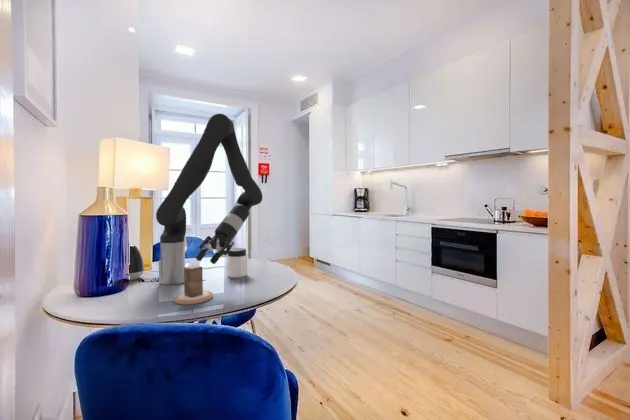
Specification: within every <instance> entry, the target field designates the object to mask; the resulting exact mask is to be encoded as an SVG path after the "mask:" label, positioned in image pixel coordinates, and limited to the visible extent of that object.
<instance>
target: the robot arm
mask: <svg viewBox="0 0 630 420" xmlns="http://www.w3.org/2000/svg"><path fill="white" fill-rule="evenodd" d="M220 144H221V146H222V148H223V149H224V152H225V155H226V158H227V163H228V166H229V169H230V172H231V175H232V177H233V179H234V182H235V184H236V185H237V186H238V187H241V188H242V189H243V190H244V191H243V192H242V193H241V194H240V195H239V196H238V197H237V200H236V201H235V204H234V206H233V208H232V209H231V210H230V211H229V212H228V213H227V214H226V216H225V217H224V218H223V219H222V221H220V223H219V224H218V226H217V227H216V228H215V230H214V236H212V237H211V236H210V235H207V237H206V238H205V239H204V240H203V241H202V243H201V244H200V245H199V246H198V248H199V249H200V251H199V252H198V253H197V255H196V257H195V259H196V260H197V261H198V262H201V261H202V259H203V258H204V257H205V256H206V254H207V253H208V252H211V251H213V250H216V252H214V254H213V255H212V257H211V259H210V261H209V262H210V263H212V264H213V265H215V264H216V263H218V261H219V259H220V258H221V257H222V256H227V255H228V252H229V251H230V249H232V247H233V246H234V244H235V242H234V241H233V240H234V239H235V237H236V236H237V234H238V233H239V231H240V230H241V228H242V227H243V224H244V223H245V222H246V220H247V219H248V218H249V215H250V209H251V208H252V207H255V206H257V205H260V204H261V203H262V201H263V192H262V190H261V188H260V187H259V185H258V184H257V183H256V181H255V180H254V178H253V177H252V175H251V171H250V170H249V167H248V165H247V163H246V160H245V158H244V156H243V153H242V151H241V149H240V145H239V143H238V139H237V136H236V130H235V125H234V121H232V119H230V117H228V116H227V115H225V114H224V113H215V114H213V115H211V117H210V118H209V119H208V121H207V124H206V126H205V129H204V130H203V133H202V135H201V137H200V140H199V141H198V143H197V145H196V146H195V147H194V149H193V151H192V153H191V154H190V156H189V158H188V159H187V161H186V163H185V164H184V165H183V168H182V170H181V171H180V174H179V175H178V177H177V179H176V180H175V182H174V183H173V186H172V188H171V189H170V192H169V193H168V194H167V195H166V197H165V198H164V200H163V201H162V202H161V203H160V205H159V206H158V208H157V210H156V214H155V217H156V221H157V223H158V224H159V225H161V226H163V227H164V229H163V231H162V234H161V235H160V237H159V242H160V244H159V245H160V259H159V260H158V284H161V285H165V286H173V285H179V284H184V267H186V261H185V260H186V257H185V254H186V252H185V248H184V237H185V236H186V233H187V213H186V210H185V208H184V206H185V204H186V202H187V200H189V197H190V196H192V195H193V193H194V192H196V191H197V189H198V188H199V187H201V185H202V184H203V182H204V181H205V179H206V177H207V176H208V174H209V172H210V171H211V168H212V165H213V161H214V158H215V154H216V151H217V150H218V148H219V146H220Z"/></svg>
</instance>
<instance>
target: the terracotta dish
mask: <svg viewBox="0 0 630 420" xmlns="http://www.w3.org/2000/svg"><path fill="white" fill-rule="evenodd" d="M212 297H214V294H213V292H212V291H209V290H204V289H203V295H200V296H196V297H193V298H191V297H187V296H184V291H183V292H180V293H177V294H176V295H174V296H173V303H174V304H177V305H185V306H188V305H197V303H199V304H202V302H203V303H205V301H206V302H208V300H209V301H210V300H212V299H213V298H212ZM211 298H212V299H211Z"/></svg>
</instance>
